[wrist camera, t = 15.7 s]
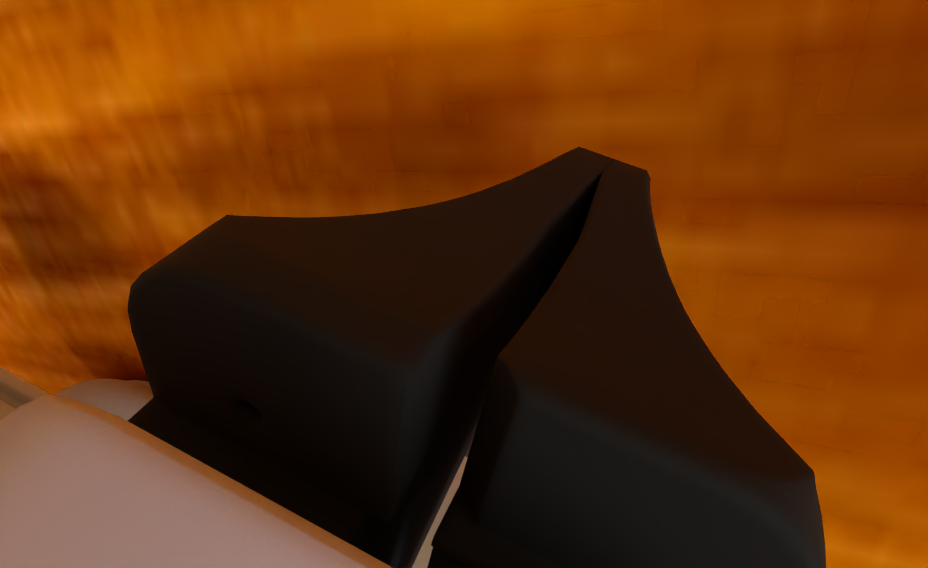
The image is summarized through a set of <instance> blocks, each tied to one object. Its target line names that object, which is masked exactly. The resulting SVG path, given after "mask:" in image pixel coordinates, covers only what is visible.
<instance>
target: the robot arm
mask: <svg viewBox="0 0 928 568" xmlns="http://www.w3.org/2000/svg"><path fill="white" fill-rule="evenodd" d="M128 314H129V319H130V324H131V329H132V333H133V336H134V339H135V342H136V345H137V348H138V351H139V354H140V357H141V360H142V363H143V366H144V369H145V372H146V375H147V378H148V381H149V384H150V387H151V390H152V393H153V396H154V397H153V398H152V399H151V400H150V401H149V402H148V403H147V404H146V405H145V406H143V407H142V408H141V409H140V410H139V411H138V412H137V413H136V414H135V415H133V416H132V417H131V418H130V419H129V420H128V421H126V420H124V419H123V418H121V417H119V416H117V415H114V414H112V413H109V412H106V411H104V410H101V409H99V408H96V407H93V406H91V405H88V404H86V403H83V402H80V401H78V400H75V399H73V398H70V397H61V396H52V395H51V394H49V393H47V392H45V391H44V390H42V389H40V388H38V387H36V386H35V385H33V384H31V383H29V382H27V381H26V380H24V379H22V378H20V377H19V376H17V375H15V374H13V373H11V372H10V371H8V370H6V369H4V368H2V367H1V366H0V568H412V566H413V564H414V562H415V560H416V558H417V556H418V553H419V551H420V549H421V547H422V545H423V543H424V541H425V538H426V536H427V534H428V532H429V530H430V528H431V526H432V524H433V522H434V520H435V517H436V515H437V513H438V511H439V509H440V507H441V505H442V503H443V501H444V498H445V496H446V494H447V492H448V490H449V488H450V486H451V484H452V482H453V480H454V478H455V476H456V473H457V471H458V469H459V467H460V465H461V463H462V461H463V459H464V457H465V455H466V453H467V451H468V449H469V447H470V445H471V448H470V451H469V454H468V458H467V461H466V465H465V468H464V471H463V475H462V478H461V482H460V485H459V487H458V489H457V491H456V493H455V495H454V497H453V499H452V501H451V503H450V505H449V507H448V509H447V511H446V513H445V515H444V517H443V519H442V521H441V522H440V524H439V526H438V528H437V530H436V532H435V535H434V537H433V539H432V543H431V546H432V547H433V549H432V552H431V556H430V560H429V563H428V567H427V568H826V556H825V540H824V532H823V524H822V516H821V510H820V505H819V500H818V495H817V490H816V484H815V476H814V472H813V470H812V469H811V468H810V467H809V466H808V465H807V464H806V463H805V462H804V460H803V459H802V458H801V457H800V456H799V455H798V454H797V453H796V452H795V451H794V450H793V449H792V448H791V447H790V446H789V445H788V444H787V443H786V442H785V441H784V439H783V438H782V437H781V436H780V435H779V434H778V433H777V432H776V431H775V430H774V429H773V428H772V427H771V426H770V425H769V424H768V423H767V422H766V421H765V420H764V418H763V417H762V416H761V415H760V414H759V413H758V412H757V411H756V410H755V409H754V407H753V406H752V405H751V404H750V403H749V401H748V400H747V399H746V398H745V396H744V395H743V394H742V393H741V391H740V390H739V389H738V388H737V387H736V385H735V384H734V383H733V382H732V380H731V379H730V378H729V377H728V375H727V374H726V373H725V371H724V370H723V369H722V367H721V366H720V364H719V363H718V362H717V360H716V359H715V358H714V356H713V355H712V353H711V352H710V350H709V349H708V347H707V346H706V344H705V343H704V341H703V339H702V338H701V336H700V335H699V333H698V332H697V330H696V328H695V327H694V325H693V324H692V322H691V320H690V318H689V317H688V315H687V313H686V311H685V310H684V308H683V305H682V303H681V301H680V299H679V297H678V295H677V293H676V290H675V288H674V286H673V283H672V281H671V278H670V275H669V273H668V270H667V267H666V264H665V261H664V258H663V255H662V252H661V248H660V245H659V241H658V237H657V233H656V228H655V224H654V220H653V214H652V208H651V200H650V177H649V174H648V172H647V170H644V169H641V168H638V167H635V166H632V165H630V164H627V163H624V162H621V161H618V160H615V159H612V158H610V157H607V156H604V155H601V154H598V153H595V152H593V151H590V150H587V149H584V148H581V147H577V148H575V149H573V150H571V151H569V152H566V153H564V154H562V155H561V156H559V157H557V158H555V159H553V160H551V161H549V162H547V163H545V164H543V165H541V166H539V167H537V168H535V169H533V170H530V171H528V172H526V173H524V174H522V175H520V176H517V177H515V178H513V179H511V180H508V181H506V182H503V183H500V184H498V185H495V186H493V187H490V188H487V189H485V190H482V191H479V192H476V193H473V194H470V195H467V196H463V197H460V198H456V199H452V200H448V201H444V202H440V203H436V204H432V205H427V206H422V207H416V208H409V209H403V210H396V211H390V212H383V213H376V214H366V215H354V216H339V217H313V218H292V217H258V216H235V215H226V216H225V217H223V218H221V219H220V220H218V221H217V222H215V223H214V224H212V225H211V226H209V227H208V228H207V229H205V230H204V231H202V232H201V233H199V234H198V235H196V236H195V237H194V238H192V239H191V240H189V241H188V242H186V243H185V244H183V245H182V246H181V247H179V248H178V249H176V250H175V251H173V252H172V253H170V254H169V255H168V256H166V257H165V258H163V259H162V260H160V261H159V262H157V263H156V264H155V265H153V266H152V267H150V268H149V269H147V270H146V271H144V272H143V273H142V274H141V275H140V276H139V277H138V278H137V280H136V281H135V282H134V283H133V284H132V285H131V289H130V295H129V300H128ZM472 440H473V441H472ZM471 443H472V444H471Z"/></svg>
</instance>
